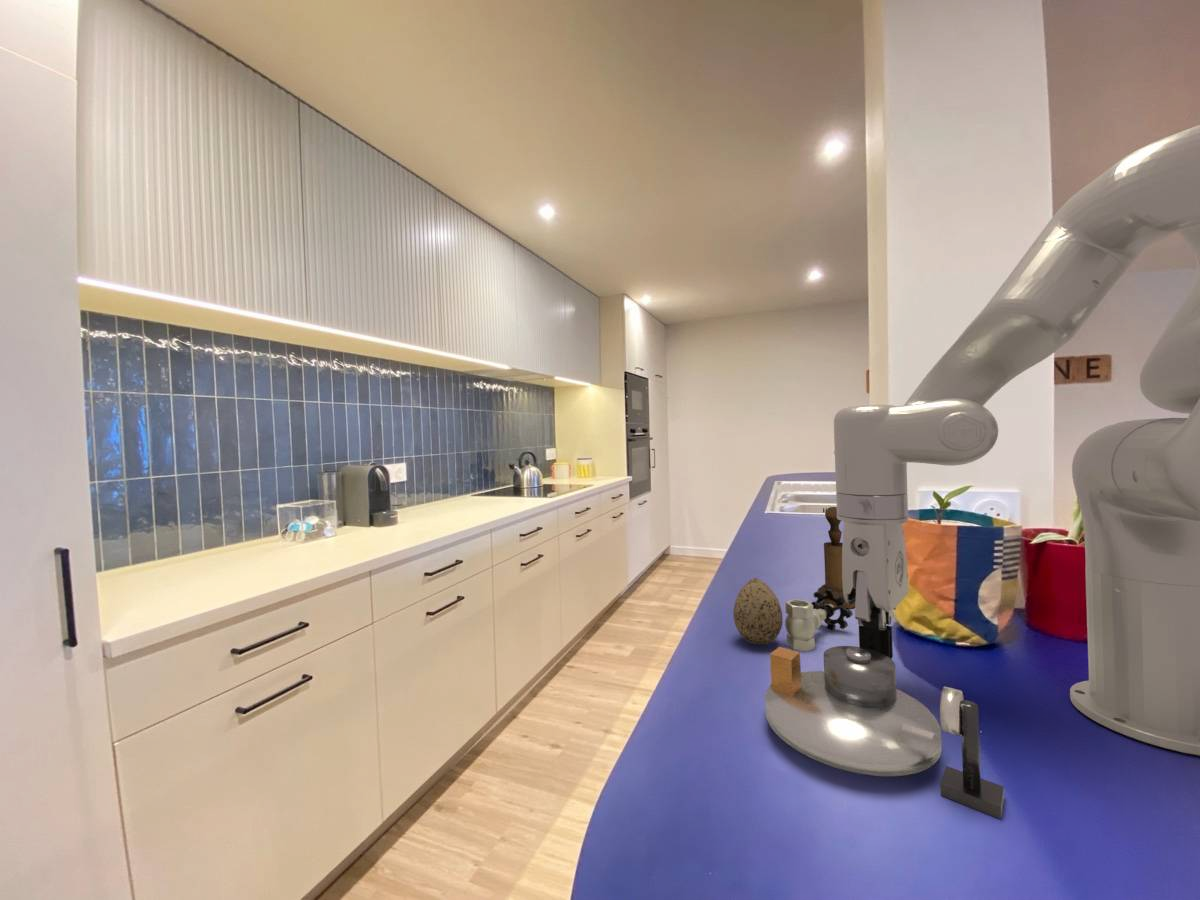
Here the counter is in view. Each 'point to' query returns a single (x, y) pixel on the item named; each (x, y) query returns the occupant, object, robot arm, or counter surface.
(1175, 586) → the robot arm
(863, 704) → the cover
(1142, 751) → the counter surface
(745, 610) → the decorative egg
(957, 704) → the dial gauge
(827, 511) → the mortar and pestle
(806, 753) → the turntable
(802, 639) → the valve
